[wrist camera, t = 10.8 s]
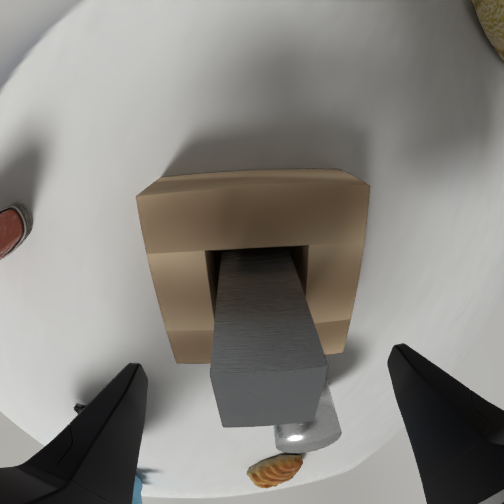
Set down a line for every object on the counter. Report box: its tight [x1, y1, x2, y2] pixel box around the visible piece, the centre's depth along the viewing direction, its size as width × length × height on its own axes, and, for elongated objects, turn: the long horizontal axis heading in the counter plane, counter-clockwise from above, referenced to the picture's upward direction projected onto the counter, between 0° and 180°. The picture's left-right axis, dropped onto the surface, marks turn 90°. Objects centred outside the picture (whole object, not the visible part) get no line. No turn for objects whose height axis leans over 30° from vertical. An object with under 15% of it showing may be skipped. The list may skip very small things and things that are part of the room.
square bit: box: [210, 246, 328, 427], centre depth 12 cm, size 3×3×10 cm
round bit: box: [274, 378, 342, 453], centre depth 20 cm, size 5×5×6 cm
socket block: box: [136, 169, 370, 364], centre depth 15 cm, size 10×10×4 cm
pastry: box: [247, 455, 303, 488], centre depth 31 cm, size 9×7×4 cm
